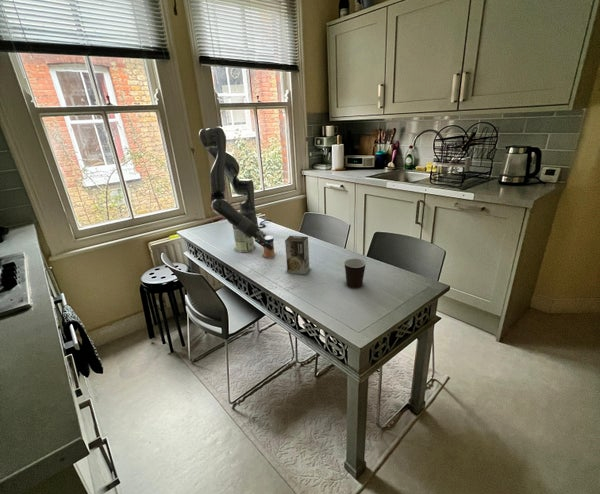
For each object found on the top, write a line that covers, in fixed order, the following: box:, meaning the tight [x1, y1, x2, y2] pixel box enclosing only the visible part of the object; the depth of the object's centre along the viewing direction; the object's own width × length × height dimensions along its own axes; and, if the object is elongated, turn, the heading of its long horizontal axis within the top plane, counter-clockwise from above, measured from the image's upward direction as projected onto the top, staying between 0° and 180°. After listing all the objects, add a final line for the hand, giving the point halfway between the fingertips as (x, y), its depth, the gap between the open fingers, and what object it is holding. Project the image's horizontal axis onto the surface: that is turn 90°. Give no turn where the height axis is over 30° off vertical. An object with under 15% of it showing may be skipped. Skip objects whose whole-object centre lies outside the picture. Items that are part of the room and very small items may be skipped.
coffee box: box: [284, 235, 310, 275], centre depth 143 cm, size 9×6×16 cm
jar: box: [262, 241, 275, 259], centre depth 162 cm, size 5×5×10 cm
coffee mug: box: [343, 258, 366, 289], centre depth 132 cm, size 12×9×10 cm
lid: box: [264, 235, 275, 243], centre depth 161 cm, size 6×6×2 cm
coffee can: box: [231, 224, 255, 253], centre depth 172 cm, size 10×10×14 cm
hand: (271, 246), depth 162 cm, fingers open, 7 cm apart
